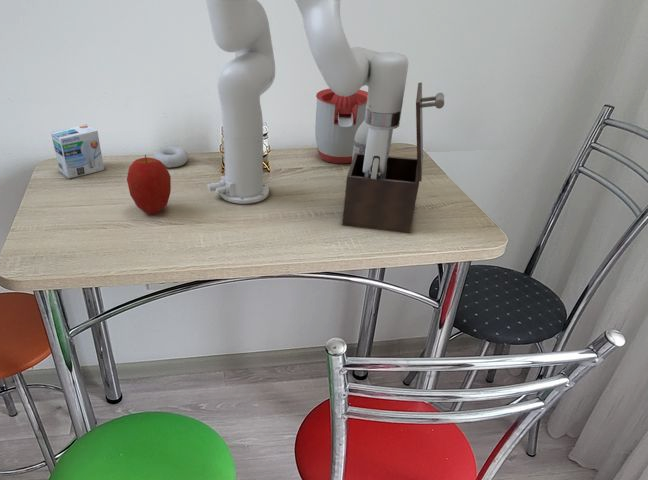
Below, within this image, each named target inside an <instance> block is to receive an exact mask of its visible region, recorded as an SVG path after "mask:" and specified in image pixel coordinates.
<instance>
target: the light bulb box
mask: <svg viewBox="0 0 648 480" xmlns="http://www.w3.org/2000/svg"><path fill="white" fill-rule="evenodd" d="M50 134H51V139H52V143H53V149H54V152H55V157H56V160H57V165H58V171H59V172H60V173H61V174H63V175H64V176H65V177H66V178H67V179H70V180H71V179H75V178H78V177H82V176H85V175H89V174H93V173H97V172H102V171H104V170H105V166H104V161H103V160H104V159H103V154H102V148H101V144H100V138H99V131H98V129H95V128H94V127H92V126H91V125H88V124H83V125H77V126H73V127H67V128H64V129H60V130H55V131H51V132H50Z"/></svg>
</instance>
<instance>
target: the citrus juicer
mask: <svg viewBox="0 0 648 480" xmlns="http://www.w3.org/2000/svg"><path fill="white" fill-rule="evenodd" d="M315 97H316V105H315V106H316V108H315V122H314V123H315V125H314V135H315V136H314V137H315V144H316V148H317V152H318V155H319V157H320V159H322V160H324V161H325V162H327V163H333V164H349V163H352V157H353V147H354V139H355V134H356V132H357V130H358V128H359V126H360V125H361V124H362V123H363V121H364V120H365V111H366V105H367V97H368V91H366V90H363V89H359V90H358V91H357V92H356V93H355V94H353V95H351V96H339V95H337V94H335V93H334V92H333V91H332V90H331V89H330V88H325V89H322V90H320V91H318V92H317V93H316V96H315Z"/></svg>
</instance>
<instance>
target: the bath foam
mask: <svg viewBox="0 0 648 480" xmlns="http://www.w3.org/2000/svg"><path fill="white" fill-rule="evenodd" d="M366 106H367V105H366ZM365 114H366V111H365ZM368 128H369V127H367V126H366V125H365V120H364V121H363V123H362V124H361V125H360V126H359V128H358V130H357V132H356V134H355V139H354V147H353V157H354V154H355V153H360V154H365V148H366V140H367V134H368ZM353 157H352V160H353Z"/></svg>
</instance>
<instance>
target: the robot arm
mask: <svg viewBox="0 0 648 480" xmlns="http://www.w3.org/2000/svg"><path fill="white" fill-rule="evenodd" d="M205 1H206V2H205V3H206V7H207V11H208V17H209V21H210V27H211V32H212V36H213V39H214V41H215V44H216V45H217V46H218V47H219V49H221V50H222V51H224V52H226V53H234V55H235V58H233V59H231V60H230V61H228V62H227V63H226V64H225V65H224V66H223V68H222V69H221V70H220V72H219V74H218V79H217V92H218V93H217V94H218V98H219V103H220V108H221V109H220V110H221V120H222V134H223V135H222V136H223V155H224V156H223V158H224V159H223V160H224V175H221V179H219V180H218V182H211V183H207V184H206V189H207V191H208V192H215V193H216V194H217V195H219V196H220V198H222V199H223V200H224V201H227V202H230V203H233V204H241V205H248V204H255V203H259V202H262V201H264V200H265V199H267V198H268V197H269V196H270V188H269V186H268V185H267V184H266V183H264V120H263V111H262V105H261V96H262V95H263V94H264V93H266V92H267V91H268V90H269V89H270V88H271V86H272V85H273V83H274V81H275V78H276V62H275V54H274V48H273V41H272V35H271V29H270V28H271V27H270V22H269V18H268V15H267V12H266V10H265V8H264V6H263V5H262V3H261V2H260V1H259V0H205ZM294 1H295V3H296V5H297V7H298V10H299V13H300V14H301V17H302V22H303V27H304V28H303V29H304V31H305V35H306V39H307V42H308V46H309V49H310V52H311V55H312V57H313V60H314V62H315V64H316V66H317V68H318V70H319V72H320V74H321V76H322V77H323V80H324V83H326V85H327V87H328V89H331V90H332V91H333V92H334V93H335V94H337V95H339V96H351V95H353V94H355V93H356V92H357V91H358V90H361V89H362V88H363V87H365V86H367V88H368V89H367V92H368V97H367V106H366V114H365V125H366V126H367V127H369V128H368V134H367V140H366V148H365V156H364V164H363V173H365V172H368V171H369V175H368V177H369V178H371V179H376V178H377V175H378V178H379V179H380V178H381V175H382V174H383V173H384V171H385V167H386V164H387V160H388V156H390V151H391V146H392V139H393V132H394V130H395V129H398V128H399V127H400V122H401V117H402V109H403V104H404V97H405V90H406V84H407V76H408V72H409V71H408V70H409V59H408V57H407V56H406V55H405V54H403V53H401V52H396V51H395V52H394V51H384V52H383V51H381V52H380V51H377V50H372V49H368V48H366V47H360V46H354V47H351V45H350V44H349V41H348V38H347V36H346V34H345V31H344V28H343V24H342V18H341V0H294ZM379 159H380V161H379ZM371 169H372V172H371ZM378 170H380V172H377V171H378Z"/></svg>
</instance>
